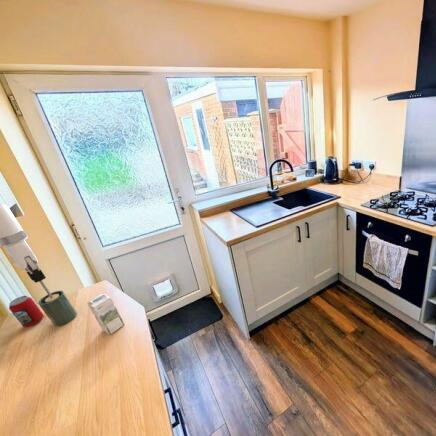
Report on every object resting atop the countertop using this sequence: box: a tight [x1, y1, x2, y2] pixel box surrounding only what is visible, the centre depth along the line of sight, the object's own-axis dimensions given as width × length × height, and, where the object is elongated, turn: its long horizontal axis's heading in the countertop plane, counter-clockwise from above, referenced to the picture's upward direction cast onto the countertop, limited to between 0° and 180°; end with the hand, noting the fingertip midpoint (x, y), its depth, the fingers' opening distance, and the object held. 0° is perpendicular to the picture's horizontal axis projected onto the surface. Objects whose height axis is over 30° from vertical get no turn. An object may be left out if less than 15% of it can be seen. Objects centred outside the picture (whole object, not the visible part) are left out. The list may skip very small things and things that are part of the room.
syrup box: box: [87, 293, 125, 336], centre depth 94 cm, size 6×6×14 cm
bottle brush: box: [29, 268, 60, 303], centre depth 97 cm, size 4×4×20 cm
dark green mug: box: [37, 290, 78, 327], centre depth 101 cm, size 8×8×12 cm
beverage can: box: [8, 295, 45, 328], centre depth 102 cm, size 7×7×12 cm
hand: (38, 278), depth 95 cm, fingers closed on bottle brush, 2 cm apart
